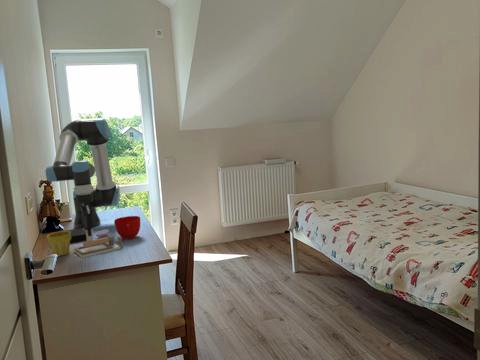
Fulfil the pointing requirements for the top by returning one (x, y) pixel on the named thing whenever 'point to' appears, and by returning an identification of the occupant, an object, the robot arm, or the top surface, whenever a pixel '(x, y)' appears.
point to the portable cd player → (77, 235)
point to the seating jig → (98, 248)
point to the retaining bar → (98, 241)
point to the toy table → (102, 233)
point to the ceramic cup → (128, 226)
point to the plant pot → (60, 242)
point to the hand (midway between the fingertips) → (90, 242)
